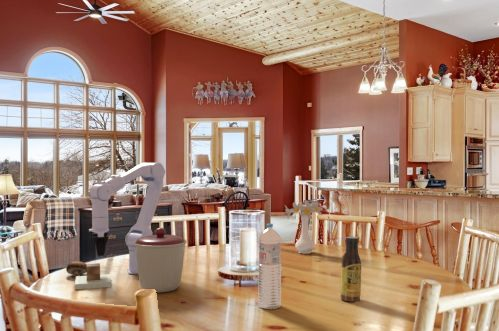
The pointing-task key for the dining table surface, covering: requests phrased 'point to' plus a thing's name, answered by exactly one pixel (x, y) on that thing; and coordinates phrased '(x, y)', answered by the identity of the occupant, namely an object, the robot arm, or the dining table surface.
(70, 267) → the mushroom
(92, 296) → the dining table surface
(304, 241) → the flower vase
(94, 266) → the walnut block
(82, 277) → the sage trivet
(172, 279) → the canister
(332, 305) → the dining table surface
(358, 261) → the sauce bottle
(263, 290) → the water bottle
